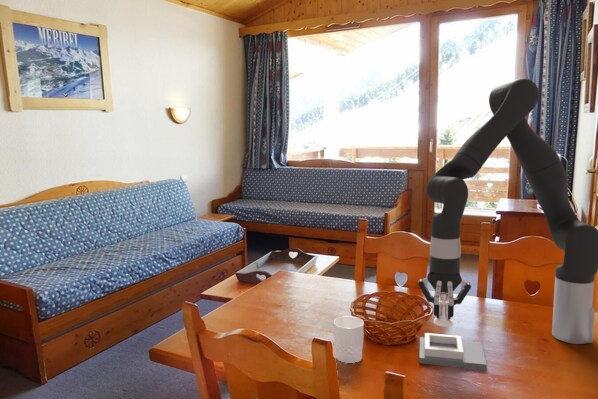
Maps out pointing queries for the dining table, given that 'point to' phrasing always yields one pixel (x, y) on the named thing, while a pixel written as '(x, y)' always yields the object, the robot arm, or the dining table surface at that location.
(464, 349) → the socket board
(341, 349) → the white cup
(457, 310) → the dining table surface
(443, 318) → the chess piece
